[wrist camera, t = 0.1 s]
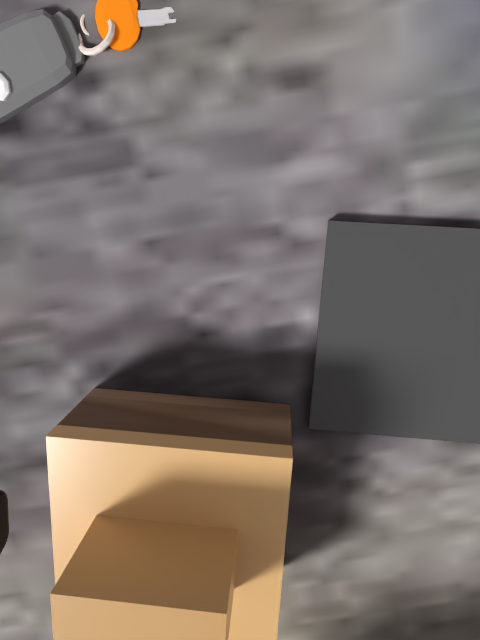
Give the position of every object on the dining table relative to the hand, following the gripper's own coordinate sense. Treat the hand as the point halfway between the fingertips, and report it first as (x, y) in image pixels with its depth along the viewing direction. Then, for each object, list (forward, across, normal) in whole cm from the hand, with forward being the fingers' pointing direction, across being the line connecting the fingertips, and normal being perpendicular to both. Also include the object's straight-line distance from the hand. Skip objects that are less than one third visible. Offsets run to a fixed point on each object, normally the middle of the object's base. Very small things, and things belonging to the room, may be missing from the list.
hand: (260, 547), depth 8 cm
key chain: (+15, +9, -12) cm, 21 cm away
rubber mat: (+14, -7, 0) cm, 16 cm away
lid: (+11, +4, +9) cm, 15 cm away
